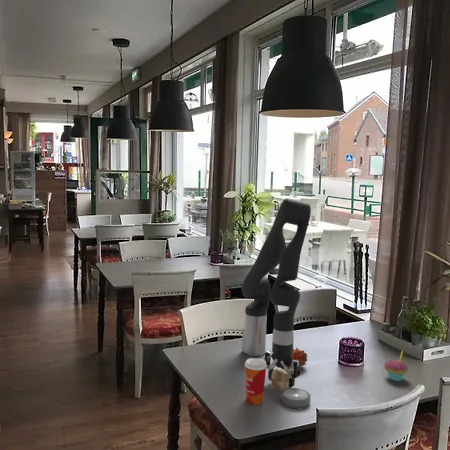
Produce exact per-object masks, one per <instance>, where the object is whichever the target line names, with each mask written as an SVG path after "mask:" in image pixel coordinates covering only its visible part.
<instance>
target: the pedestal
mask: <svg viewBox="0 0 450 450" xmlns="http://www.w3.org/2000/svg"><path fill="white" fill-rule="evenodd" d="M280 404H282V405H283V406H284V407H287V408H289V407H290V408H289V409H294V408H302V409H306V408H308V407H309V406H310V404H311V394H310V393H309V392H308V391H306V390H304V389H301V388H297V387H292V388H288V389H285V390H283V391H280ZM305 407H306V408H305Z"/></svg>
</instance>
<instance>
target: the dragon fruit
mask: <svg viewBox="0 0 450 450" xmlns="http://www.w3.org/2000/svg"><path fill="white" fill-rule="evenodd" d="M292 358H293V360H296V361H297V360H300V368H302V367H304V366H306V365H307V361H308V359H307V358H308V353H306V352H305V350H303V349H299V348H298V347H295V349H294V348H293V354H292ZM292 366H293V364H292ZM293 368H294V366H293ZM288 369H289V367H288Z"/></svg>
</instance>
